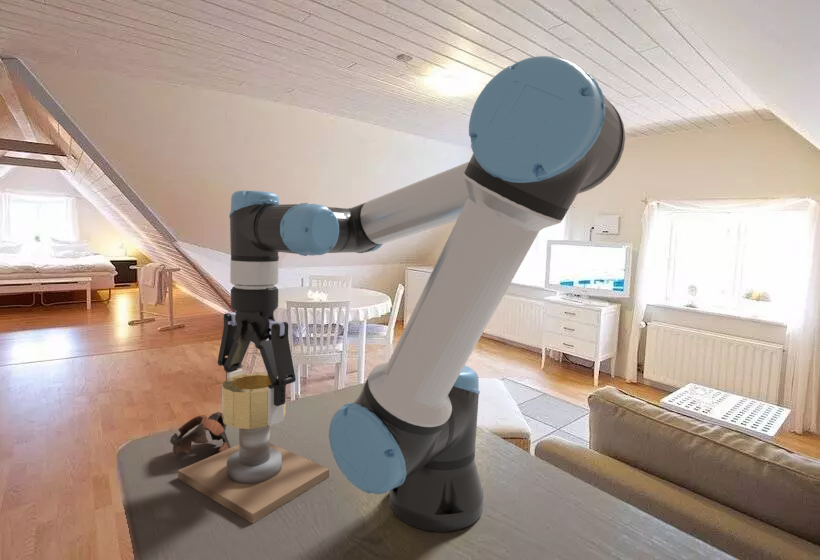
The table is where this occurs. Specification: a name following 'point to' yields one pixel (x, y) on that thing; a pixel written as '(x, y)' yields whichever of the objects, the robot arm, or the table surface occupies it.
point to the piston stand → (253, 475)
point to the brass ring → (246, 400)
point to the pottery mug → (200, 433)
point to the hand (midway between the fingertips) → (254, 414)
